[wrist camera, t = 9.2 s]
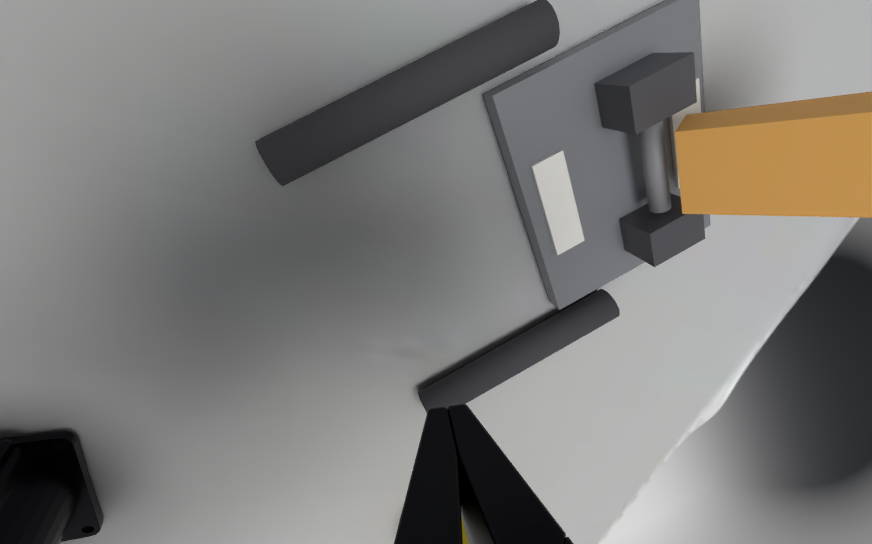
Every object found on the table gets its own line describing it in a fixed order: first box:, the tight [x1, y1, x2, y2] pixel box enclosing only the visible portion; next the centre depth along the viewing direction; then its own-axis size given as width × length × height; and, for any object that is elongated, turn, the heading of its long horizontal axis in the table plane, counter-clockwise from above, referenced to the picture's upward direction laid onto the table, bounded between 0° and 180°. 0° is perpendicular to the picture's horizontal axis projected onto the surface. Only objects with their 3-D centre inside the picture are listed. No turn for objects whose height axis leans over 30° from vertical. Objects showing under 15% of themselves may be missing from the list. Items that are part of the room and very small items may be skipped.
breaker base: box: [483, 0, 710, 310], centre depth 20 cm, size 10×12×3 cm
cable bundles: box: [255, 0, 620, 413], centre depth 20 cm, size 12×17×2 cm
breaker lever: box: [639, 92, 872, 217], centre depth 16 cm, size 2×4×13 cm, turn 22°
